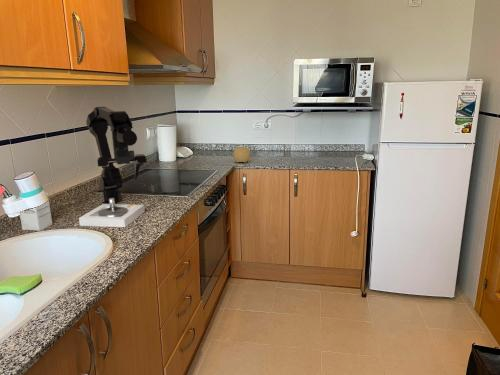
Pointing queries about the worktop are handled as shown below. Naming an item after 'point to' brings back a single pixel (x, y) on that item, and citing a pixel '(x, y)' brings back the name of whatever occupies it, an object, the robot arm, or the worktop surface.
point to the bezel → (123, 221)
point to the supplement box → (37, 217)
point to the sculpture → (241, 154)
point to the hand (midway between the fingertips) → (124, 180)
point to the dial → (113, 210)
